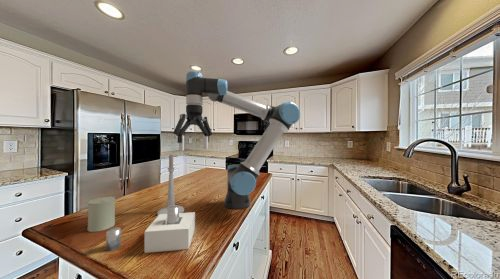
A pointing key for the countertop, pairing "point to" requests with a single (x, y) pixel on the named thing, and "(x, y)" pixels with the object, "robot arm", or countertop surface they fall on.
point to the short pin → (113, 238)
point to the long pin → (173, 215)
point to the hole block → (170, 233)
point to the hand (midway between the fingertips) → (194, 149)
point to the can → (101, 214)
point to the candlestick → (170, 190)
